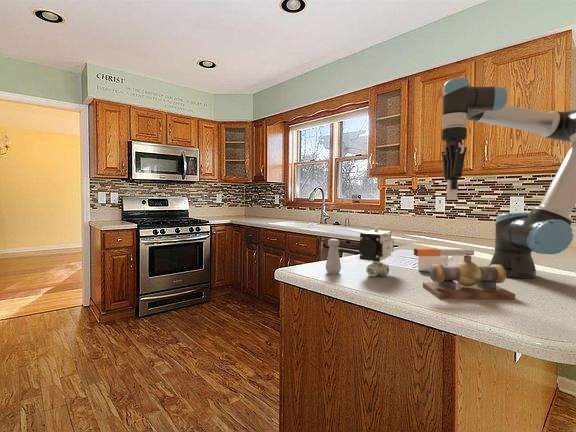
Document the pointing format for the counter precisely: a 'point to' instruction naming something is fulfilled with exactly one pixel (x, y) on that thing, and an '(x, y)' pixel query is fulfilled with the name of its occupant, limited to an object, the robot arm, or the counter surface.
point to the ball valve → (376, 250)
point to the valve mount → (468, 281)
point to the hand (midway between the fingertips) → (451, 199)
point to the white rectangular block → (431, 262)
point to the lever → (442, 252)
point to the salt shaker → (333, 258)
